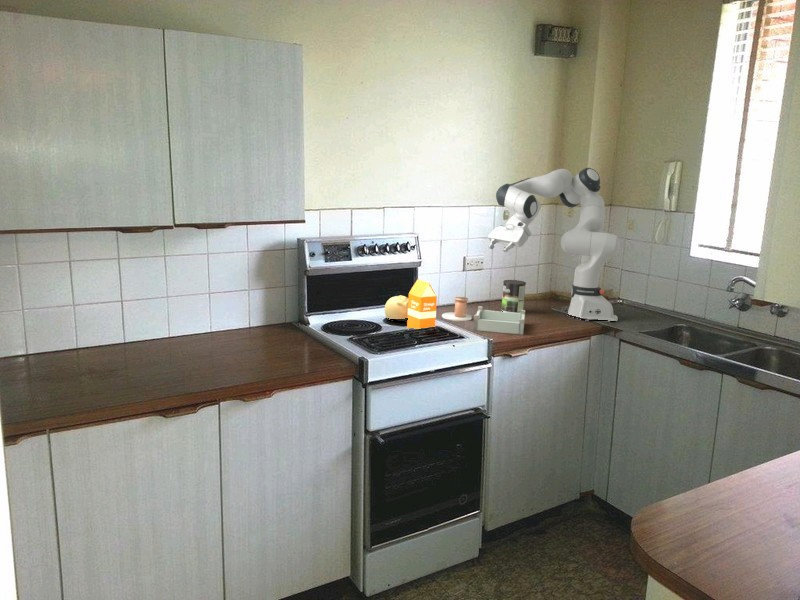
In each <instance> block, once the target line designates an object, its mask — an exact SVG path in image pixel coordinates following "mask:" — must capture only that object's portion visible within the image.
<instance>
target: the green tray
mask: <svg viewBox="0 0 800 600" xmlns="http://www.w3.org/2000/svg"><path fill="white" fill-rule="evenodd" d="M525 317H526V310H525V309H523V310H521V313H512V312H502V311H501V310H500V311H499V310H498V311H497V310H489V309H488V310H487V309H483V306H482V305H478V307H477V312H476V314H474V315H473V325H472V330H473V331H479V332H480V331H482V332H489V333H502V334H510V335H511V334H512V335H524V328H525Z"/></svg>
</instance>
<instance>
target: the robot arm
mask: <svg viewBox="0 0 800 600" xmlns="http://www.w3.org/2000/svg"><path fill="white" fill-rule="evenodd" d="M600 190H601V178H600V174H599V173H598V171H597V170H595V169H593V168H591V167H586V168H583V169H582V170H580V171H579V172H578V173H577V174H576V175H575V176H573V174H572V172H570V170H568V169H566V168H559V169H555V170H553V171H550V172H549V173H547V174H543V175H539V176H534V177H533V176H532V177H531V176H530V177H527V178H524V179H521V180H519V181H515V182H513V183H505V184H503V185H501V186H499V188H497V191H496V192H495V193H496V194H495V199H496V202H497V204H498V205H499V206H501V207H504V208H507V209H510V210H511V211H514V212H515V213H513V215H512V216H510V218H509V219H508V220H507V221H506V223H505V224H504V225H500V226H496V227H494V228H493V229H492V231H491V232H490V233H489V234H488V235H487V238H488V240H489V241H490V244H489V246H488V249H489V250H494V248H495V245H496V244H502V245H505V246H504V248H502V250H503V252H504V253H508V252H509V251H510V250H511V249H513V248H514V247H517V248H518V247H519V248H520V247H523V246H524V245H525V244H526V243H527V241H528V239H529V238H530V237H531V236H532V232H531V230H530V229H529V226H530V225H531V223H533V221H534V220H535V219H536V217H537V216H538V214H539V213H540V211H541V208H542V205H541V204H542V203H541V202H540V199H538V198H537V197H536V196H538V197H541V198H545V199H550V198H551V199H552V198H555V197H558V196H559V199H560V201H561V203H562V204H563V205H564V206H565V207H568V208H571V209H572V208H575V207H578V206H579V205H580V204H581V208H580V214H579V221H578V223H577V225H576V226H575V227H574V228H572V229H570V230H567V231H566V232H565V233H563V235H562V237H561V239H560V247H561V249H562V251H563V252H564V253H565V254H566V253H567V254H570V255H575V256H586V257H587V256H588V257H590V259H589V260H588V261H586V262H584V263H580V264H578V265H577V266H576V267H575V270H574V276H573V277H574V278H573V283H572V286H571V293H570V296H571V299H570V303H569V307H568V310H567V312H568V314H569V315H572V316H576V317H580V318H587V319H598V320H608V321H607V322H610V321H616V322H618V320H619V319H618V316H617V315H616V314H614V308H613V305H612V303H611V302H610V301H608V299H606V298H605V297H604V296H603V295H604V294H605V290H604V289H602V287H599V283H600V276H601V272H602V269H603V267H604V265H605V264H606V263H608V260H611V258H613V257H614V256H616V255H617V254H618V253H619V251H620V248H621V242H620V239H619V237H618V236H617V235H616V234H613V233H610V232H601V231H602V229H603V228H604V226H605V215H606V209H605V208H606V206H605V201H604V198H603V196H602V195H600V194H599V193H598V192H599V191H600ZM535 195H536V196H535Z"/></svg>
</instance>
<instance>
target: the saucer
mask: <svg viewBox="0 0 800 600" xmlns="http://www.w3.org/2000/svg"><path fill="white" fill-rule="evenodd" d="M454 315H455V311H454V312H453V311H452V312H451V311H450V312H443V313H442V314H441V317H442V319H444V320H447V321H452V322H469V321H471V320H472V319H473V316H472V315H471V314H469V313H466V317H463V318H461V317H455V316H454Z"/></svg>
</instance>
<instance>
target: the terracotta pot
mask: <svg viewBox="0 0 800 600" xmlns="http://www.w3.org/2000/svg"><path fill="white" fill-rule="evenodd" d="M453 300H454V301H455V302H454V312H455V315H454V316H455V317H461V318H463V317H466V314H467V305H468V301H469V298H468V297H465V296H455V297H454V299H453Z"/></svg>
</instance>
